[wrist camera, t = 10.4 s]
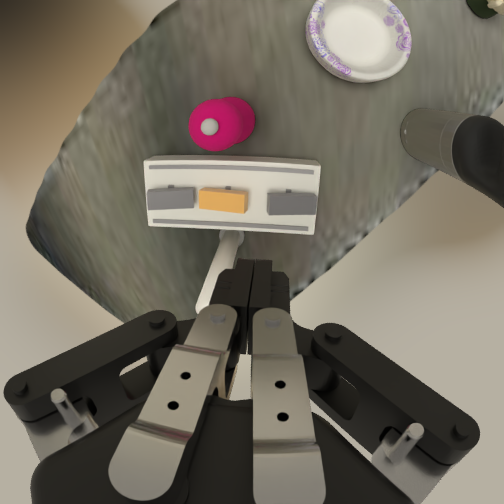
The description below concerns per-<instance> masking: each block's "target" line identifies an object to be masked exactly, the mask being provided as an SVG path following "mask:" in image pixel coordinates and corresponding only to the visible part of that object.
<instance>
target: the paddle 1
mask: <svg viewBox="0 0 504 504" xmlns="http://www.w3.org/2000/svg"><path fill="white" fill-rule="evenodd" d="M147 205H148V210H166V209H188V208H194V187H184V188H163V189H148V191H147Z"/></svg>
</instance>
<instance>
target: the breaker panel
mask: <svg viewBox="0 0 504 504" xmlns="http://www.w3.org/2000/svg"><path fill="white" fill-rule="evenodd" d="M320 169H321V166H320V164H319V163H318V162H317V160H306V159H292V158H277V157H257V156H229V155H159V156H153V157H151V158H149V159H147V160H145V161H144V174H145V189H146V202H147V191H148V189H163V188H184V187H194V208H188V209H166V210H148V205H147V214H148V224H149V226H163V227H186V228H206V229H226V230H244V231H262V232H279V233H295V234H310V235H314V228H315V219H316V215H268V213H267V211H266V210H267V193H314V194H315V195H316V196H318V191H319V180H320ZM202 188H215V189H226V190H236V191H246V192H248V210H247V211H246V212H245V213H244V214H240V213H232V212H224V211H216V210H207V209H199V190H200V189H202ZM317 201H318V197H317ZM316 210H317V207H316Z"/></svg>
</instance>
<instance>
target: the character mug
mask: <svg viewBox="0 0 504 504" xmlns="http://www.w3.org/2000/svg"><path fill="white" fill-rule="evenodd" d="M467 2H468V5H469V6H470V7H471V9H472V10H473V11H474V12H475V13H476V14H477V15H478V16H480V17H482V18H490V17H492V16H494V15H496V14H497V13H499V14H501V15H504V0H467Z"/></svg>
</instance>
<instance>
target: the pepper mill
mask: <svg viewBox="0 0 504 504" xmlns="http://www.w3.org/2000/svg"><path fill="white" fill-rule="evenodd" d="M254 126H255V115H254V112H253V110H252V108H251V107H250V105H249V104H248V103H247V102H245V101H244V100H242V99H240V98H236V97H225V98H222V99H211V100H207V101H205V102H203V103H201V104H200V105H198V106H197V107H196V108H195V109H194V111H193V112H192V114H191V116H190V119H189V132H190V135H191V138H192V139H193V141H194V142H195V143H196V144H197V145H198V146H200V147H201V148H203V149H205V150H209V151H221V150H225V149H227V148H229V147H231V146H232V145H233V144H237V143H240V142H242V141H244V140H245V139H246V138H248V137H249V135H250V134H251V133H252V131H253V129H254Z"/></svg>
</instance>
